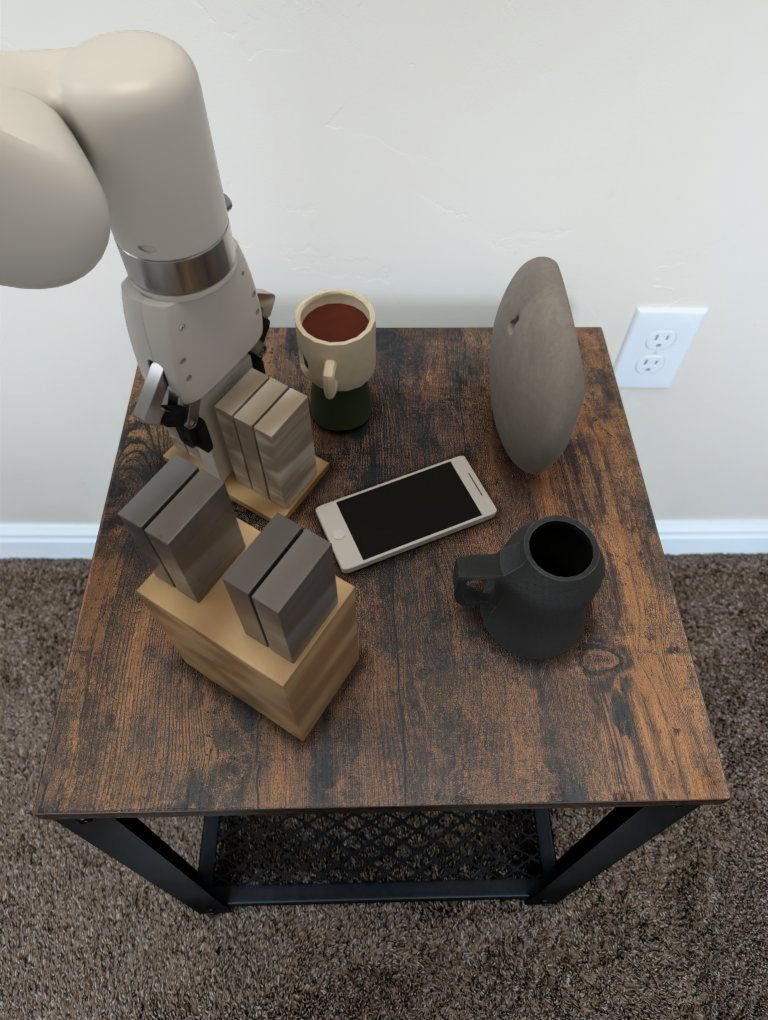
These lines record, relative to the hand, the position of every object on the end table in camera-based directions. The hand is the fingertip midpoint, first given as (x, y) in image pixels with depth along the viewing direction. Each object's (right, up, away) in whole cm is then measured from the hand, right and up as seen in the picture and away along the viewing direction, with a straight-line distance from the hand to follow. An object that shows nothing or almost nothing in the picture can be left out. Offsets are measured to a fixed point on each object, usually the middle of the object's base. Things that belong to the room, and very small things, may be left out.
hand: (226, 413), depth 63 cm
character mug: (+10, +1, +10) cm, 14 cm away
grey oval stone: (+27, -1, +8) cm, 29 cm away
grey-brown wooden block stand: (+1, -4, +6) cm, 7 cm away
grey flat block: (0, -3, +5) cm, 6 cm away
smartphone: (+16, -9, +3) cm, 19 cm away
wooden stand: (+5, -21, -4) cm, 22 cm away
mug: (+26, -17, -2) cm, 31 cm away
